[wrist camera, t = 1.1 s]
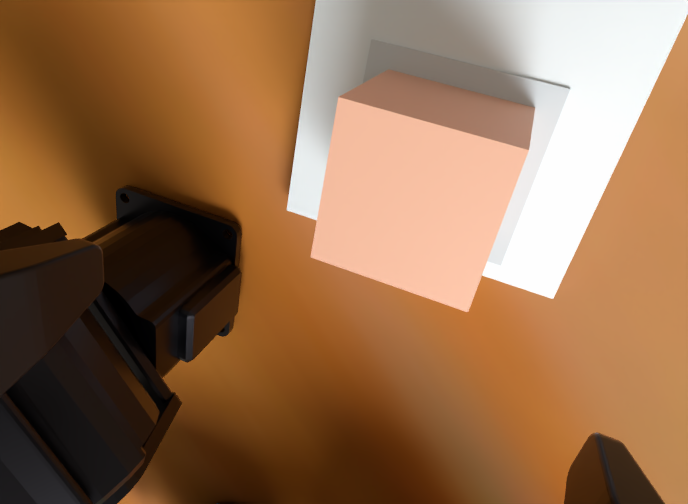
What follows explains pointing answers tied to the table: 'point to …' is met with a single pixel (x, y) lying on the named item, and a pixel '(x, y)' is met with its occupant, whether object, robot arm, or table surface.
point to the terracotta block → (419, 183)
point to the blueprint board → (505, 83)
